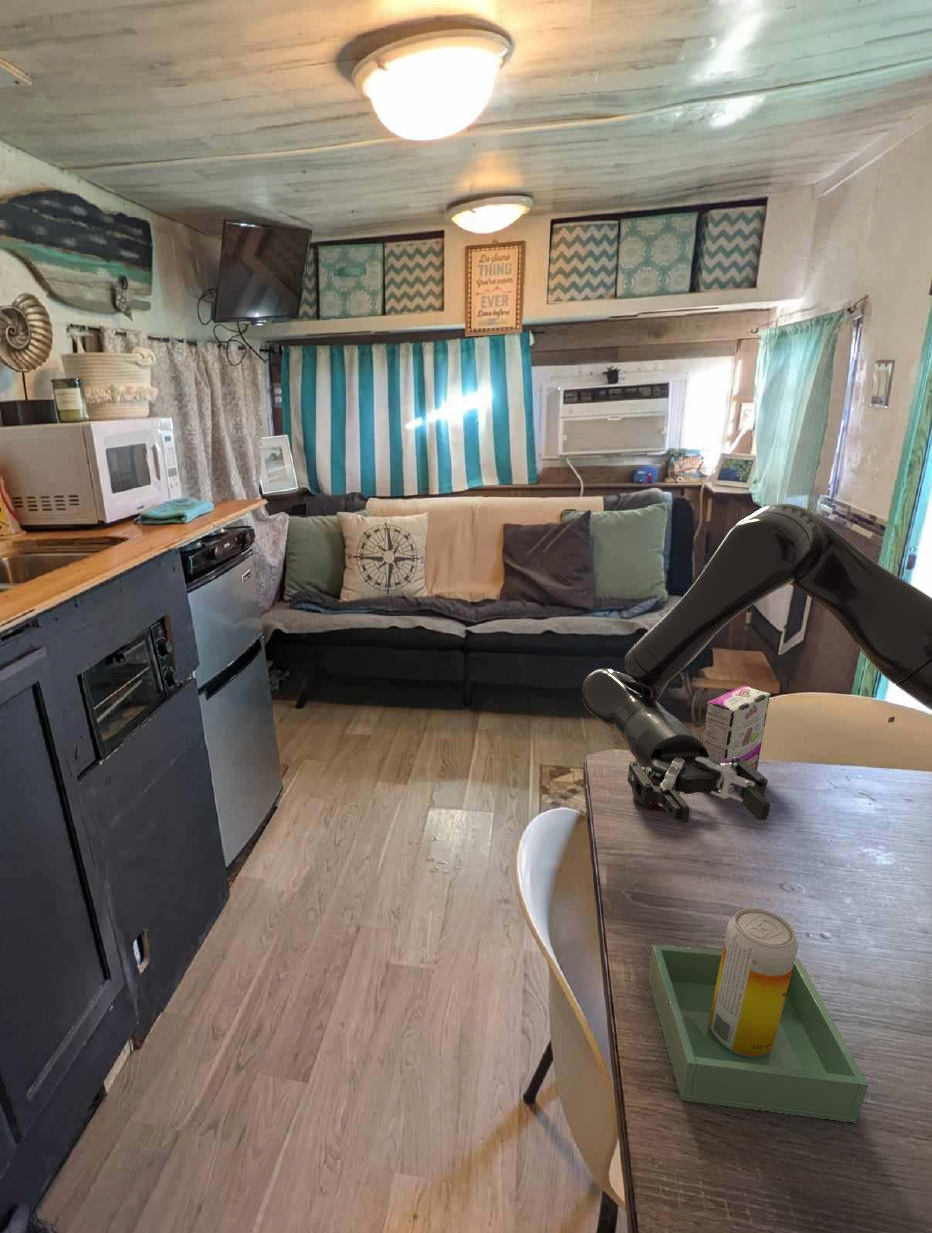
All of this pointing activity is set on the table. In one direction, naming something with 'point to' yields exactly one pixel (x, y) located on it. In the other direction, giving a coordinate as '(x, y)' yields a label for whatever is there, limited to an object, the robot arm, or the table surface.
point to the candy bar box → (736, 726)
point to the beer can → (752, 981)
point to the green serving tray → (777, 1081)
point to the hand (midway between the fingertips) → (725, 815)
